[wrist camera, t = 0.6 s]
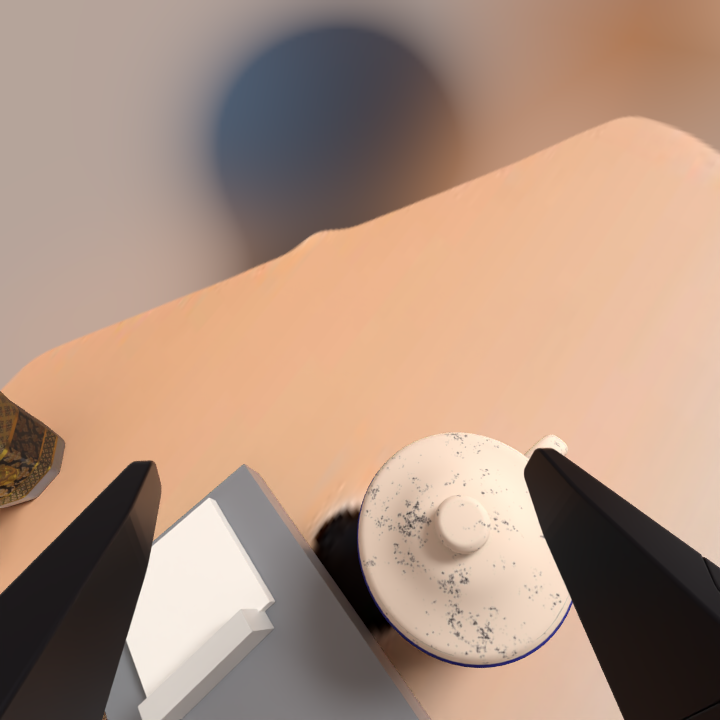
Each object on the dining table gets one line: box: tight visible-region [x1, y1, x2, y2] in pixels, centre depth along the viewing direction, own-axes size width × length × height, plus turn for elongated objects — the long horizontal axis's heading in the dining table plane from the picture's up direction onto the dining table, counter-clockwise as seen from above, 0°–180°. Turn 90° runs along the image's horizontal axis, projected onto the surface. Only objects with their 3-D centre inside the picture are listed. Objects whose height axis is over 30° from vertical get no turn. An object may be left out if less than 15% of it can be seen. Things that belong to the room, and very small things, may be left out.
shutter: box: [126, 498, 275, 720], centre depth 22 cm, size 8×8×3 cm
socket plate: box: [105, 464, 431, 720], centre depth 22 cm, size 19×13×2 cm
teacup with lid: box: [357, 432, 573, 668], centre depth 19 cm, size 12×9×12 cm
